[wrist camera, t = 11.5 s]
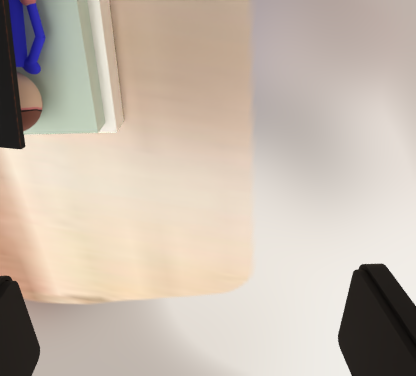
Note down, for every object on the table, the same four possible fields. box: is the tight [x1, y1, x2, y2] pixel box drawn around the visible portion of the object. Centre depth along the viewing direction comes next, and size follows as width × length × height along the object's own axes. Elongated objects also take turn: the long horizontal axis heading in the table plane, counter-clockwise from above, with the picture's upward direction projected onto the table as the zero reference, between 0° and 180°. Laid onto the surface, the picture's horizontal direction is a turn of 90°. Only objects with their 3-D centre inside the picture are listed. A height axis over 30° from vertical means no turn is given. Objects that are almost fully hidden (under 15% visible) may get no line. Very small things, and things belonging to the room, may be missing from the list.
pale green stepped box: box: [16, 0, 124, 134], centre depth 30 cm, size 19×13×7 cm
